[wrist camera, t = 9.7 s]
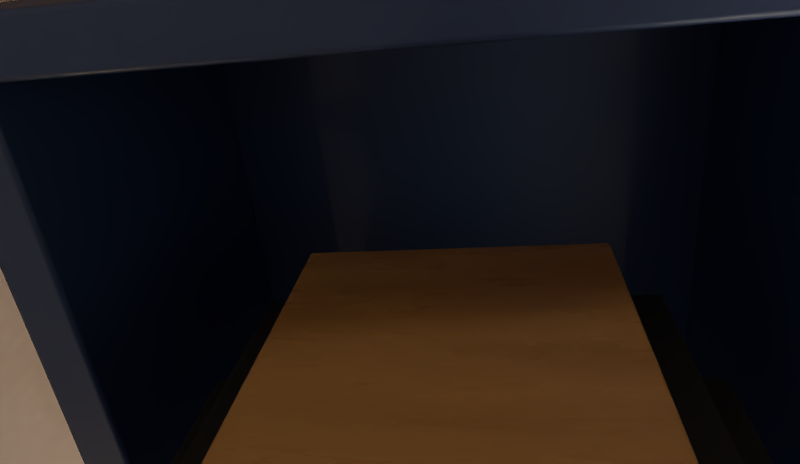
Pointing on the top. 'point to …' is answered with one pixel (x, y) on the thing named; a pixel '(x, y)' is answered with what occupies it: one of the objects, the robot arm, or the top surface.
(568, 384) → the block
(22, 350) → the top surface
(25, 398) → the top surface
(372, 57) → the case
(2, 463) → the top surface
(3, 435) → the top surface
